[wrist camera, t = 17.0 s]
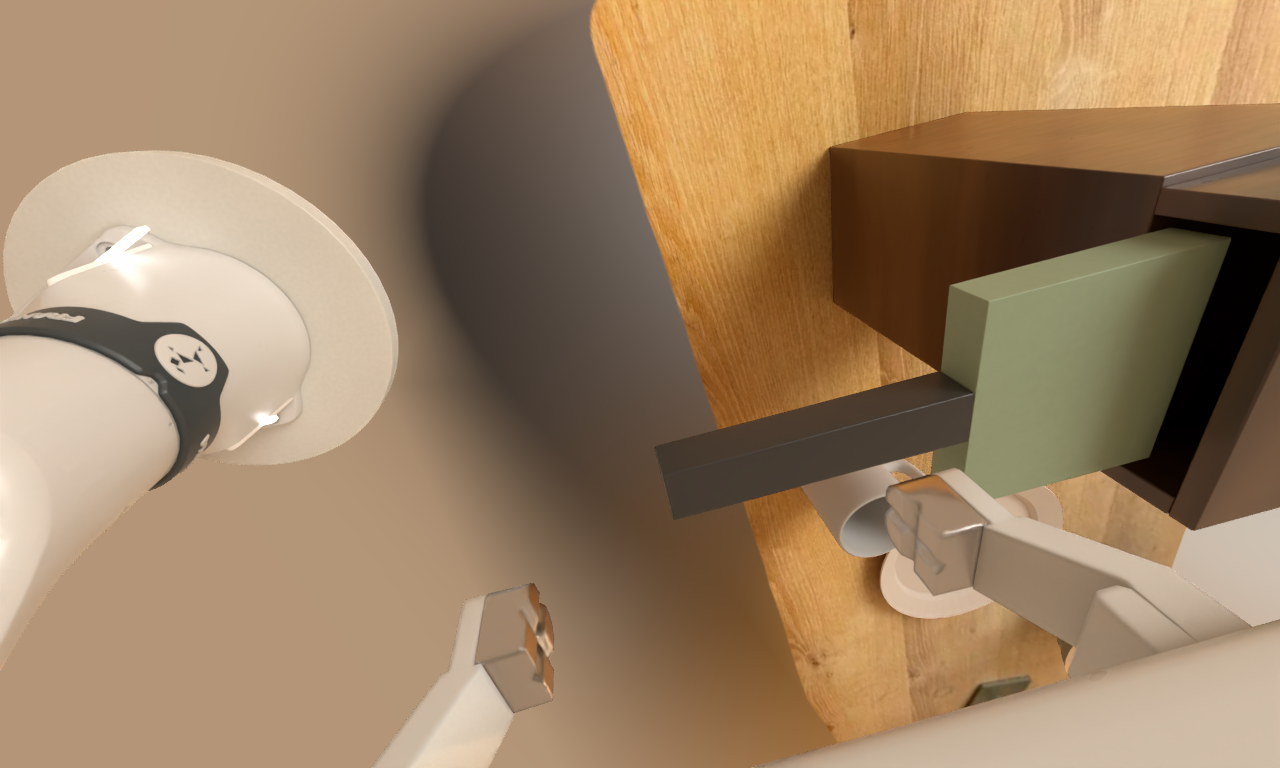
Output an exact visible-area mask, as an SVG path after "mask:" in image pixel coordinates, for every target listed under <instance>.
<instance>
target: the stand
mask: <svg viewBox="0 0 1280 768" xmlns="http://www.w3.org/2000/svg"><path fill="white" fill-rule="evenodd" d="M830 171H831V215H832V258H833V302H834V303H835V304H837V305H838V306H840V307H841V308H843V309H844V310H846V311H847V312H849V313H850V314H852V315H853V316H855V317H857V318H858V319H860V320H861V321H863V322H864V323H866V324H867V325H869V326H870V327H872V328H873V329H875V330H876V331H878V332H879V333H881V334H882V335H884V336H885V337H887V338H888V339H890V340H891V341H893V342H894V343H896V344H897V345H899V346H900V347H902V348H903V349H905V350H906V351H908V352H909V353H911V354H912V355H914V356H916V357H917V358H919V359H920V360H922V361H923V362H925V363H926V364H928V365H929V366H931V367H932V368H934V369H935V370H937V371H941V366H942V356H943V346H944V336H945V326H946V316H947V306H948V296H949V286H950V285H953V284H956V283H960V282H964V281H968V280H972V279H976V278H979V277H983V276H987V275H991V274H995V273H998V272H1002V271H1006V270H1010V269H1014V268H1018V267H1021V266H1025V265H1029V264H1033V263H1037V262H1041V261H1044V260H1048V259H1052V258H1056V257H1060V256H1063V255H1067V254H1071V253H1075V252H1079V251H1083V250H1086V249H1090V248H1094V247H1098V246H1102V245H1106V244H1109V243H1113V242H1117V241H1121V240H1125V239H1128V238H1132V237H1136V236H1140V235H1144V234H1148V233H1151V232H1155V231H1159V230H1163V229H1167V228H1171V227H1172V228H1178V229H1184V230H1190V231H1195V232H1201V233H1207V234H1213V235H1219V236H1225V237H1230V238H1231V241H1230V244H1229V247H1228V249H1227V252H1226V255H1225V257H1224V260H1223V263H1222V265H1221V268H1220V271H1219V273H1218V276H1217V279H1216V281H1215V284H1214V287H1213V289H1212V292H1211V295H1210V297H1209V300H1208V303H1207V305H1206V308H1205V310H1204V313H1203V316H1202V318H1201V321H1200V324H1199V326H1198V329H1197V332H1196V334H1195V337H1194V340H1193V342H1192V345H1191V348H1190V350H1189V353H1188V356H1187V358H1186V361H1185V364H1184V366H1183V369H1182V372H1181V374H1180V377H1179V380H1178V382H1177V385H1176V388H1175V390H1174V393H1173V395H1172V398H1171V401H1170V403H1169V406H1168V409H1167V411H1166V414H1165V417H1164V419H1163V422H1162V425H1161V427H1160V430H1159V433H1158V435H1157V438H1156V441H1155V443H1154V446H1153V449H1152V451H1151V454H1150V457H1149V458H1145V459H1141V460H1138V461H1134V462H1130V463H1127V464H1123V465H1119V466H1115V467H1112V468H1108V469H1104V470H1101V472H1103V473H1104V474H1106V475H1107V476H1109V477H1110V478H1112V479H1113V480H1115V481H1116V482H1118V483H1120V484H1121V485H1123V486H1124V487H1126V488H1127V489H1129V490H1130V491H1132V492H1133V493H1135V494H1137V495H1138V496H1140V497H1141V498H1143V499H1144V500H1146V501H1147V502H1149V503H1150V504H1152V505H1154V506H1155V507H1157V508H1158V509H1160V510H1161V511H1163V512H1164V513H1166V514H1169V516H1170V517H1172V518H1173V519H1175V520H1177V521H1178V522H1180V523H1181V524H1183V525H1184V526H1186V527H1188V528H1189V529H1190V530H1194V531H1195V530H1199V529H1202V528H1206V527H1209V526H1213V525H1217V524H1220V523H1224V522H1228V521H1231V520H1235V519H1239V518H1242V517H1246V516H1249V515H1253V514H1257V513H1260V512H1264V511H1268V510H1272V509H1275V508H1279V507H1280V103H1277V104H1241V105H1205V106H1168V107H1132V108H1096V109H1059V110H1023V111H987V112H965V113H961V114H957V115H953V116H949V117H945V118H941V119H937V120H933V121H929V122H926V123H922V124H918V125H914V126H910V127H906V128H902V129H898V130H894V131H890V132H886V133H882V134H879V135H875V136H871V137H867V138H863V139H859V140H855V141H851V142H847V143H843V144H839V145H835V146H831V147H830Z"/></svg>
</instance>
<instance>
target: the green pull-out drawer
mask: <svg viewBox="0 0 1280 768" xmlns="http://www.w3.org/2000/svg"><path fill="white" fill-rule="evenodd" d="M1230 241H1231V238H1230V237H1225V236H1219V235H1213V234H1207V233H1201V232H1195V231H1190V230H1184V229H1178V228H1172V227H1171V228H1167V229H1163V230H1159V231H1155V232H1151V233H1148V234H1144V235H1140V236H1136V237H1132V238H1128V239H1125V240H1121V241H1117V242H1113V243H1109V244H1106V245H1102V246H1098V247H1094V248H1090V249H1086V250H1083V251H1079V252H1075V253H1071V254H1067V255H1063V256H1060V257H1056V258H1052V259H1048V260H1044V261H1041V262H1037V263H1033V264H1029V265H1025V266H1021V267H1018V268H1014V269H1010V270H1006V271H1002V272H998V273H995V274H991V275H987V276H983V277H979V278H976V279H972V280H968V281H964V282H960V283H956V284H953V285H950V286H949V296H948V306H947V316H946V326H945V336H944V346H943V356H942V366H941V371H938V372H935V373H931V374H927V375H923V376H920V377H916V378H912V379H908V380H904V381H901V382H897V383H893V384H889V385H886V386H882V387H878V388H874V389H870V390H867V391H863V392H859V393H855V394H852V395H848V396H844V397H840V398H836V399H833V400H829V401H825V402H821V403H818V404H814V405H810V406H806V407H802V408H799V409H795V410H791V411H787V412H784V413H780V414H776V415H772V416H768V417H765V418H761V419H757V420H753V421H750V422H746V423H742V424H738V425H734V426H731V427H727V428H723V429H719V430H716V431H712V432H708V433H704V434H701V435H697V436H693V437H689V438H685V439H682V440H678V441H674V442H670V443H667V444H663V445H659V446H656V447H655V452H656V456H657V460H658V464H659V468H660V472H661V476H662V480H663V484H664V488H665V491H666V495H667V498H668V502H669V506H670V509H671V513H672V516H673V519H674V520H677V519H680V518H684V517H688V516H692V515H695V514H699V513H703V512H706V511H710V510H714V509H718V508H722V507H725V506H729V505H732V504H736V503H740V502H744V501H748V500H751V499H755V498H759V497H763V496H766V495H770V494H774V493H778V492H781V491H785V490H789V489H793V488H796V487H800V486H804V485H808V484H811V483H815V482H819V481H822V480H826V479H830V478H834V477H837V476H841V475H845V474H849V473H852V472H856V471H860V470H864V469H867V468H871V467H875V466H878V465H882V464H886V463H890V462H893V461H897V460H901V459H905V458H908V457H912V456H916V455H920V454H923V453H927V452H931V451H933V457H932V467H931V474H933V473H937V472H941V471H944V470H948V469H951V468H956V469H959V470H961V471H962V472H963V473H964V474H965V475H967V476H968V477H969V478H970V479H971V480H972V481H974V482H975V483H976V484H977V485H978V486H979V487H981V488H982V489H983V490H984V491H985V492H986V493H988V494H989V495H990V496H991V497H992V498H993V499H997V498H1001V497H1004V496H1008V495H1012V494H1016V493H1019V492H1023V491H1027V490H1030V489H1034V488H1038V487H1041V486H1045V485H1049V484H1053V483H1056V482H1060V481H1064V480H1067V479H1071V478H1075V477H1078V476H1082V475H1086V474H1090V473H1093V472H1097V471H1101V470H1104V469H1108V468H1112V467H1115V466H1119V465H1123V464H1127V463H1130V462H1134V461H1138V460H1141V459H1145V458H1149V457H1150V454H1151V451H1152V449H1153V446H1154V443H1155V441H1156V438H1157V435H1158V433H1159V430H1160V427H1161V425H1162V422H1163V419H1164V417H1165V414H1166V411H1167V409H1168V406H1169V403H1170V401H1171V398H1172V395H1173V393H1174V390H1175V388H1176V385H1177V382H1178V380H1179V377H1180V374H1181V372H1182V369H1183V366H1184V364H1185V361H1186V358H1187V356H1188V353H1189V350H1190V348H1191V345H1192V342H1193V340H1194V337H1195V334H1196V332H1197V329H1198V326H1199V324H1200V321H1201V318H1202V316H1203V313H1204V310H1205V308H1206V305H1207V303H1208V300H1209V297H1210V295H1211V292H1212V289H1213V287H1214V284H1215V281H1216V279H1217V276H1218V273H1219V271H1220V268H1221V265H1222V263H1223V260H1224V257H1225V255H1226V252H1227V249H1228V247H1229V244H1230Z"/></svg>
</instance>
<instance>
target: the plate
mask: <svg viewBox="0 0 1280 768" xmlns="http://www.w3.org/2000/svg"><path fill="white" fill-rule="evenodd" d="M995 500H996V501H997V502H998V503H999V504H1000V505H1002V506H1003V507H1004V508H1005V509H1006V510H1007V511H1009V512H1010V513H1011V514H1012V515H1013V516H1014V517H1019V516H1025V517H1027V518H1030V519H1033V520H1036V521H1039V522H1042V523H1045V524H1047V525H1050V526H1053V527H1056V528H1059V529H1062V524H1063V511H1062V507H1061V504H1060V502H1059V500H1058V498H1057V497H1056V495H1055V494H1054V493H1053V492H1052V491H1051V490H1049V489H1048V488H1047V487H1045V486H1041V487H1038V488H1034V489H1030V490H1027V491H1023V492H1019V493H1016V494H1012V495H1008V496H1004V497H1001V498H997V499H995ZM913 570H914V561H913V560H911V559H909V558H907V557H905V556H902V555H901V554H900V553H899V552H898V550H897V549H894V550H892V551H890V552H888V553H887V555H886V557H885V559H884V562H883V564H882V567H881V572H880V589H881V592H882V595H883V597H884V598H885V600H886V601H887V603H888V604H889V605H890V606H891V607H893V608H894V609H896V610H897V611H899V612H901V613H903V614H905V615H908V616H912V617H917V618H931V619H932V618H944V617H950V616H955V615H959V614H963V613H966V612H969V611H972V610H975V609H977V608H980V607H983V606H985V605H987V604H989V603H991V602H993V600H992V599H990V598H988V597H986V596H985V595H983V594H981V593H979V592H978V591H976V590H974V589H973V587H969V588H965V589H961V590H957V591H953V592H949V593H945V594H941V595H936V596H933V595H932V594H931V592H930V591H929V590H928V589H927V587H926V586H925V585H924V584H923V582H922V581H921V580H920V579H919V577H918V576H917V575H916V573H915V572H914V571H913Z"/></svg>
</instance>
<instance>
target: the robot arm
mask: <svg viewBox="0 0 1280 768" xmlns="http://www.w3.org/2000/svg"><path fill="white" fill-rule="evenodd" d="M149 230H150V229H149V228H148V227H146V226H143V227H139V228H135V227H132V226H128V225H118V226H115V227H113V228H110V229H108V230H106V231H104V232H103V233H102V234H101V235H100V236H99V237H98V238H97V239H95V240H94V241H93V242H92V243H91V244H90V245H89V246H88V247H87V248H86V249H85V250H83V251H82V252H81V253H80V254H79V255H78V256H77V257H76V258H75V259H74V260H72V261H71V262H70V263H69V264H68V265H67V266H66V267H65V268H64V269H63V270H61V271H60V272H59V273H58V274H57V275H56V276H54V277H52V278H50V279H48V280H47V284H46V285H45V286H44V287H43V288H42V289H41V290H39V291H38V292H37V293H36V294H35V295H34V296H33V297H32V298H31V299H30V300H28V301H27V302H26V303H25V304H24V305H23V306H22V307H21V308H20V309H19V310H17V311H16V312H15V313H14V314H13V315H12V316H11V317H10V318H8V319H5V320H3V321H0V671H1V669H2V668H3V666H4V664H5V662H6V661H7V659H8V657H9V655H10V654H11V652H12V650H13V648H14V646H15V645H16V643H17V641H18V640H19V638H20V636H21V635H22V633H23V631H24V630H25V628H26V627H27V625H28V623H29V622H30V620H31V619H32V617H33V615H34V614H35V612H36V611H37V609H38V608H39V606H40V605H41V603H42V602H43V600H44V599H45V597H46V596H47V595H48V593H49V592H50V590H51V589H52V588H53V586H54V585H55V584H56V583H57V581H58V580H59V579H60V577H61V576H62V575H63V574H64V573H65V572H66V570H67V569H68V568H69V567H70V566H71V565H72V563H73V562H74V561H75V560H76V559H77V558H78V557H79V556H80V555H81V554H82V553H83V552H84V551H85V550H86V549H87V548H88V547H89V546H90V545H91V544H92V543H93V542H94V541H95V540H96V539H97V538H98V537H99V536H100V535H101V534H102V533H104V531H106V530H107V529H108V528H109V527H110V526H111V525H112V524H113V523H114V522H115V521H116V520H117V519H118V518H119V517H120V516H121V515H122V514H123V513H124V512H126V511H127V510H128V509H129V508H130V507H131V506H132V505H133V504H134V503H135V502H136V501H137V500H138V499H139V498H141V497H142V496H143V495H144V494H145V493H146V492H147V491H150V490H153V489H156V488H158V487H159V486H162V485H164V484H165V483H167V482H168V481H170V480H171V479H172V478H173V477H175V476H176V475H177V474H178V473H182V472H183V471H184V470H186V469H187V468H188V467H189V466H190V465H191V464H193V463H194V462H195V461H196V460H197V459H198V458H199V457H200V455H202V456H203V457H204V458H205V459H210V458H213V457H215V456H217V455H219V454H220V453H222V452H223V451H224V450H228V451H232V450H234V449H236V448H237V447H239V446H240V445H241V444H243V443H244V442H245V441H246V440H247V439H248V438H250V437H251V436H252V435H253V434H254V433H255V432H256V431H258V430H262V429H266V428H270V427H275V426H279V425H283V424H287V423H290V422H292V421H294V420H295V419H296V418H298V417H299V416H300V415H301V413H302V396H301V390H300V389H301V384H302V381H303V379H304V377H305V374H306V372H307V369H308V366H309V362H310V352H311V349H310V340H309V336H308V332H307V329H306V326H305V324H304V321H303V319H302V318H301V316H300V314H299V312H298V310H297V309H296V307H295V306H294V305H293V303H292V302H291V301H290V299H289V298H288V297H287V296H286V295H285V294H284V292H283V291H282V290H281V289H280V288H279V287H277V286H276V285H275V284H274V283H273V282H272V281H271V280H269V279H268V278H267V277H266V276H264V275H263V274H261V273H260V272H258V271H257V270H255V269H254V268H252V267H250V266H249V265H247V264H245V263H243V262H241V261H239V260H237V259H235V258H232V257H230V256H227V255H225V254H222V253H219V252H215V251H212V250H208V249H203V248H197V247H190V246H183V245H177V244H173V243H169V242H166V241H164V240H162V239H160V238H158V237H156V236H154V235H151V234H149V233H147V232H148V231H149ZM885 499H886V500H887V502H888V503H889V504H890V505H891V506H890V507H889V509H888V510H887V511H886V513H885V526H886V530H887V533H888V536H889V538H890V540H891V542H892V543H893V545H894V547H895V548H896V549H897V550H898V552H899V553H900V554H901V555H902V556H905V557H907V558H909V559H911V560H913V561H914V570H913V571H914V572H915V573H916V575H917V576H918V577H919V579H920V580H921V581H922V582H923V584H924V585H925V586H926V587H927V589H928V590H929V591H930V592H931V594H932V595H933V596H936V595H941V594H945V593H949V592H953V591H957V590H961V589H965V588H969V587H973V589H974V590H976V591H978V592H979V593H981V594H983V595H985V596H986V597H988V598H990V599H992V600H993V601H995V602H997V603H999V604H1000V605H1002V606H1004V607H1005V608H1007V609H1009V610H1011V611H1012V612H1014V613H1016V614H1018V615H1019V616H1021V617H1023V618H1025V619H1026V620H1028V621H1030V622H1032V623H1033V624H1035V625H1037V626H1039V627H1040V628H1042V629H1044V630H1046V631H1047V632H1049V633H1051V634H1053V635H1054V636H1056V637H1058V638H1059V639H1061V640H1063V641H1065V642H1066V643H1068V644H1070V645H1072V646H1073V647H1075V651H1074V654H1073V656H1072V659H1071V662H1070V665H1069V669H1068V676H1069V677H1070V678H1069V679H1066V680H1062V681H1059V682H1055V683H1052V684H1048V685H1044V686H1041V687H1037V688H1034V689H1030V690H1026V691H1023V692H1019V693H1016V694H1012V695H1009V696H1005V697H1001V698H998V699H994V700H991V701H987V702H983V703H980V704H976V705H973V706H969V707H966V708H962V709H958V710H955V711H951V712H948V713H944V714H940V715H937V716H933V717H930V718H926V719H923V720H919V721H915V722H912V723H908V724H905V725H901V726H897V727H894V728H890V729H887V730H883V731H880V732H876V733H872V734H869V735H865V736H862V737H858V738H854V739H851V740H847V741H844V742H840V743H837V744H833V745H829V746H826V747H822V748H819V749H815V750H812V751H808V752H805V753H801V754H797V755H794V756H790V757H787V758H783V759H780V760H776V761H772V762H769V763H765V764H761V765H758V766H754V767H751V768H1280V620H1276V621H1272V622H1269V623H1266V624H1262V625H1258V626H1255V627H1252V626H1250V625H1249V624H1248V623H1246V622H1245V621H1244V620H1242V619H1241V618H1240V617H1238V616H1237V615H1235V614H1234V613H1232V612H1231V611H1230V610H1228V609H1227V608H1226V607H1224V606H1223V605H1222V604H1220V603H1219V602H1218V601H1216V600H1215V599H1213V598H1212V597H1211V596H1209V595H1208V594H1207V593H1205V592H1204V591H1202V590H1201V589H1200V588H1198V587H1197V586H1196V585H1194V584H1193V583H1192V582H1190V581H1189V580H1187V579H1186V578H1184V577H1183V576H1182V575H1181V574H1179V573H1178V572H1176V571H1175V570H1174V569H1172V568H1170V567H1167V566H1164V565H1161V564H1158V563H1156V562H1153V561H1150V560H1147V559H1144V558H1141V557H1138V556H1136V555H1133V554H1130V553H1127V552H1124V551H1121V550H1119V549H1116V548H1113V547H1110V546H1107V545H1104V544H1101V543H1099V542H1096V541H1093V540H1090V539H1087V538H1084V537H1082V536H1079V535H1076V534H1073V533H1070V532H1067V531H1064V530H1062V529H1059V528H1056V527H1053V526H1050V525H1047V524H1045V523H1042V522H1039V521H1036V520H1033V519H1030V518H1027V517H1025V516H1019V517H1014V516H1013V515H1012V514H1011V513H1010V512H1009V511H1007V510H1006V509H1005V508H1004V507H1003V506H1002V505H1000V504H999V503H998V502H997V501H996V500H995V499H993V498H992V497H991V496H990V495H989V494H988V493H986V492H985V491H984V490H983V489H982V488H981V487H979V486H978V485H977V484H976V483H975V482H974V481H972V480H971V479H970V478H969V477H968V476H967V475H965V474H964V473H963V472H962V471H961V470H959V469H956V468H951V469H948V470H944V471H941V472H937V473H933V474H931V475H925V476H922V477H918V478H915V479H911V480H908V481H904V482H901V483H897V484H894V485H890V486H888V488H887V490H886V496H885ZM553 650H554V634H553V626H552V621H551V618H550V614H549V611H548V609H547V607H546V606H545V605H543V604H541V603H539V591H538V589H537V587H536V586H535V584H534V583H530V584H526V585H522V586H518V587H514V588H510V589H506V590H502V591H497V592H494V593H489V594H486V595H482V596H478V597H474V598H470V599H466V601H465V602H464V604H463V605H462V607H461V612H460V617H459V622H458V626H457V631H456V635H455V640H454V645H453V650H452V655H451V659H450V664H449V669H448V672H447V673H444V674H441V675H440V676H439V678H438V679H437V680H436V682H435V683H434V684H433V685H432V687H431V688H430V689H429V691H428V692H427V694H426V695H425V696H424V697H423V699H422V700H421V702H420V703H419V704H418V706H417V707H416V708H415V710H414V711H413V712H412V713H411V715H410V716H409V717H408V719H407V720H406V722H405V723H404V724H403V726H402V727H401V728H400V729H399V731H398V732H397V734H396V735H395V736H394V737H393V739H392V740H391V742H390V743H389V744H388V746H387V747H386V748H385V749H384V751H383V752H382V754H381V755H380V756H379V757H378V759H377V760H376V762H375V763H374V764H373V766H372V767H371V768H489V766H490V764H491V762H492V760H493V758H494V756H495V754H496V752H497V750H498V748H499V746H500V744H501V742H502V740H503V738H504V736H505V734H506V731H507V730H508V728H509V726H510V724H511V722H512V719H513V717H514V714H513V713H515V712H519V711H522V710H525V709H528V708H532V707H535V706H538V705H541V704H544V703H548V702H551V701H553V678H554V669H553V667H552V665H551V663H550V661H549V660H548V658H549V657H550V655H551V653H552V652H553Z"/></svg>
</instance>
